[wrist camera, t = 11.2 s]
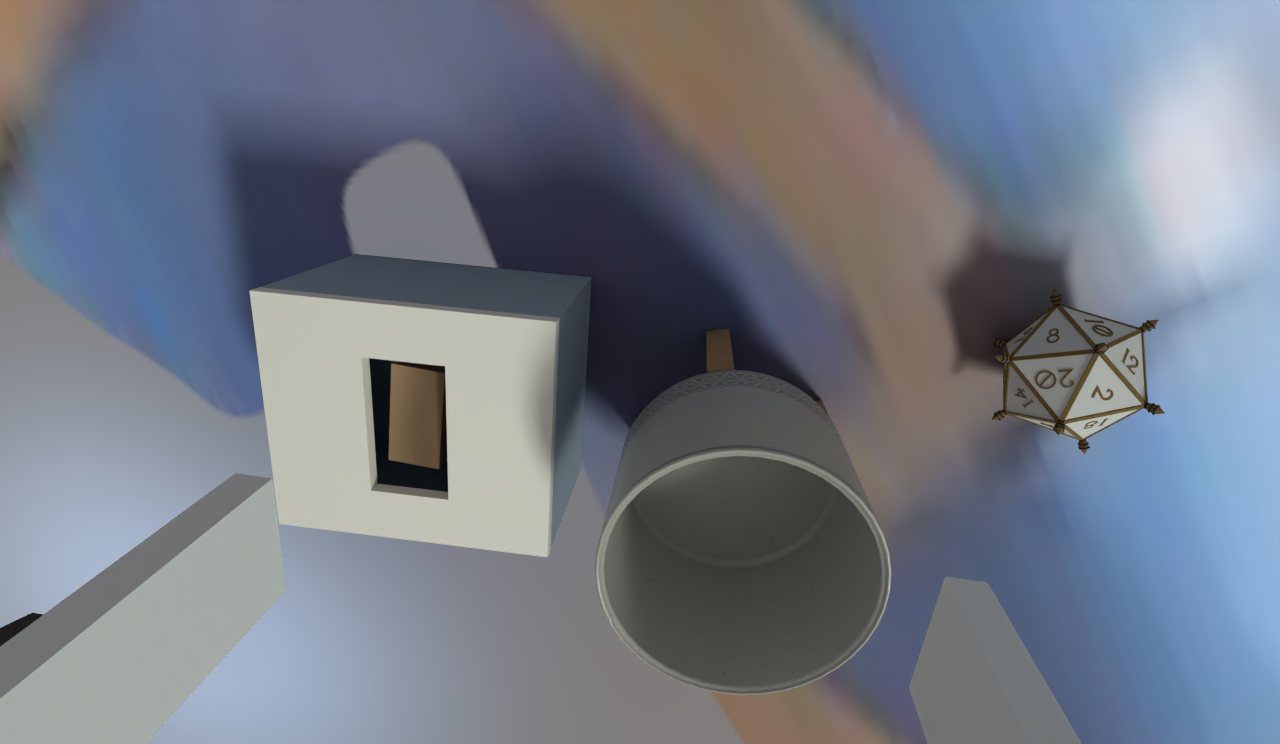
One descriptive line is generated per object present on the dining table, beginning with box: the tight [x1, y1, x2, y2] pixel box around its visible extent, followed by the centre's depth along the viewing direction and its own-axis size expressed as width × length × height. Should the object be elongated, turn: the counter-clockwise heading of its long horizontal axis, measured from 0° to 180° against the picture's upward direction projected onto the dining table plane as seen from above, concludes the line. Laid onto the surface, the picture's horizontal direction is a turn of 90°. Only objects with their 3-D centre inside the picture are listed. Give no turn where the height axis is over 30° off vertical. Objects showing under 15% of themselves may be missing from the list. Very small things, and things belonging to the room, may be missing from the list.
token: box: [389, 361, 447, 469], centre depth 41 cm, size 3×6×9 cm, turn 170°
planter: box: [595, 329, 891, 695], centre depth 37 cm, size 13×13×18 cm
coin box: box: [249, 254, 592, 557], centre depth 41 cm, size 14×16×11 cm
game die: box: [992, 289, 1164, 454], centre depth 39 cm, size 9×8×10 cm
